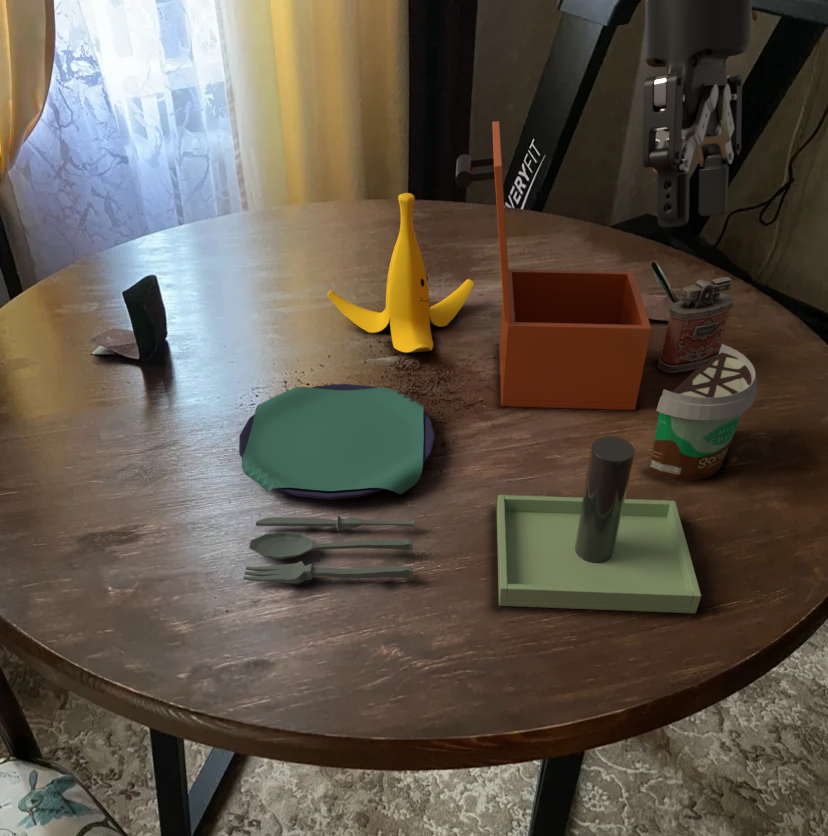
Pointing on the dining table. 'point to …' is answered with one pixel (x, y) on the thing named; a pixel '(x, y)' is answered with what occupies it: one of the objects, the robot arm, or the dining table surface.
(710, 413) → the food container
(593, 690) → the dining table surface
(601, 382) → the orange open box
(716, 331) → the lighter
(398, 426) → the cutlery set
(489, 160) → the box lid
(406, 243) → the banana peel
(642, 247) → the dining table surface
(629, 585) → the tray
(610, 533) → the black cylinder
